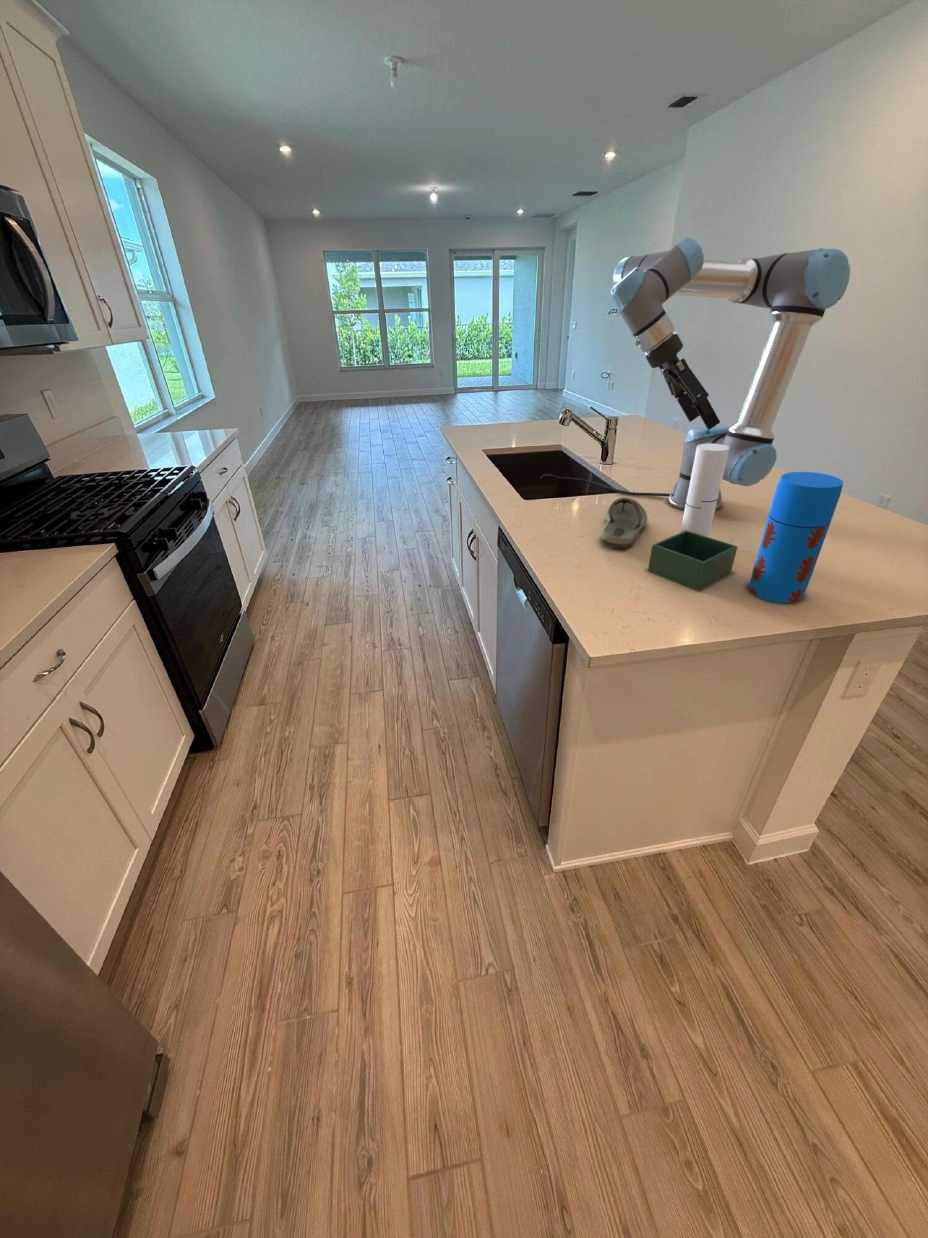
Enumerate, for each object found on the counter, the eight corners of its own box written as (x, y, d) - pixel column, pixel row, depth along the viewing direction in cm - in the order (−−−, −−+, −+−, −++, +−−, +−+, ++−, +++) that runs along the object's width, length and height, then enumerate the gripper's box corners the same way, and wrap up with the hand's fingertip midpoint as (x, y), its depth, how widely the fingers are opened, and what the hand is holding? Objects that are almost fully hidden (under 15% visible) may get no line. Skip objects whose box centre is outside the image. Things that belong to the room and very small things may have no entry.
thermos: (738, 582, 116) (768, 473, 103) (783, 578, 116) (818, 469, 103) (766, 605, 107) (803, 489, 94) (815, 601, 107) (858, 485, 94)
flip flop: (610, 511, 158) (613, 484, 153) (650, 515, 153) (654, 488, 149) (588, 547, 136) (591, 517, 131) (634, 553, 131) (638, 523, 127)
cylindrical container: (709, 548, 132) (732, 450, 118) (680, 547, 133) (700, 450, 120) (704, 538, 137) (725, 443, 124) (676, 537, 139) (694, 443, 126)
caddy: (647, 570, 123) (652, 544, 119) (680, 554, 129) (685, 529, 126) (698, 590, 114) (704, 563, 110) (730, 572, 120) (737, 546, 116)
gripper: (632, 353, 125) (674, 424, 132) (658, 355, 103) (706, 440, 110) (660, 331, 122) (701, 405, 129) (692, 328, 100) (740, 418, 107)
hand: (704, 422), depth 120 cm, fingers open, 13 cm apart
